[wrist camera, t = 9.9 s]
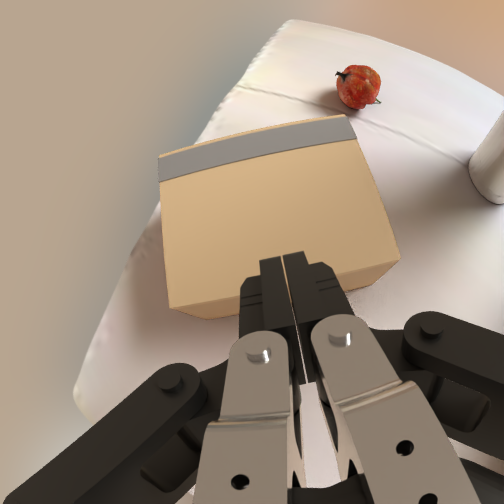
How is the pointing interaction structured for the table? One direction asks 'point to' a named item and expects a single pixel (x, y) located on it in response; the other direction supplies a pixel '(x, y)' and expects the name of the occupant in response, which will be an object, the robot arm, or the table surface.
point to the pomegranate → (358, 86)
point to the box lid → (268, 207)
